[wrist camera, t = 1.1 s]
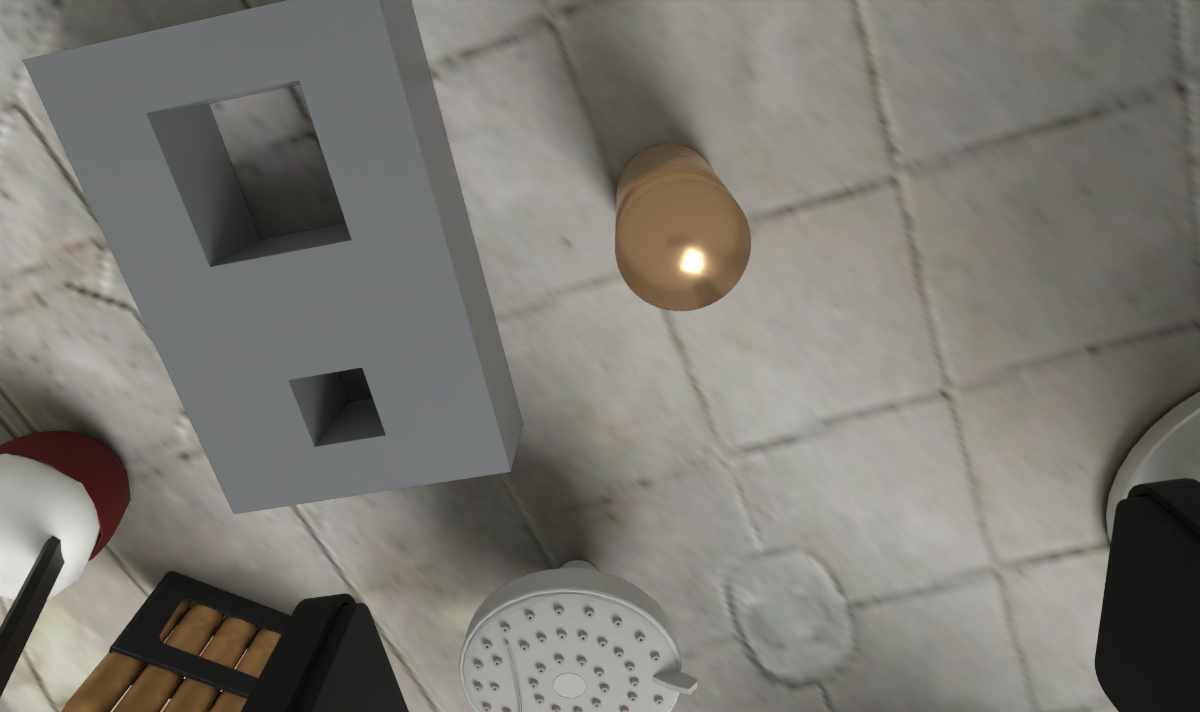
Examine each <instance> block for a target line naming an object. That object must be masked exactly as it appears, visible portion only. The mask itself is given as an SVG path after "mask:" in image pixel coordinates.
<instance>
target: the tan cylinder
mask: <svg viewBox="0 0 1200 712" xmlns="http://www.w3.org/2000/svg"><path fill="white" fill-rule="evenodd" d="M750 248H751V235H750V230H749V225H748V222H747V219H746V217H745V215H744V213H743V211H742V209H741V208H740V206H739V205H738V203H737V202H736V201H735V199H734V198H733V197H732V195H731V194H730V192H729V191H728V190H727V188H726V187H725V186H724V184H723V183H722V181H721V180H720V179H719V177H718V176H717V175H716V173H715V172H714V170H713V169H712V168H711V166H710V165H709V164H708V162H707V161H706V160H705V159H704V158H703V157H702V156H701V155H700V154H699V153H698V152H696V151H694V150H693V149H691V148H689V147H686V146H683V145H680V144H674V143H664V144H658V145H654V146H651V147H648V148H646V149H644V150H642V151H641V152H639V153H638V154H637V155H635V156H634V157H633V158H632V159H631V160H630V161H629V162H628V164H627V165H626V166H625V168H624V170H623V171H622V174H621V176H620V178H619V182H618V186H617V197H616V235H615V253H616V260H617V264H618V268H619V270H620V273H621V275H622V277H623V279H624V280H625V282H626V284H627V285H628V286H629V287H630V289H631V290H632V291H633V292H634V293H635V294H636V295H637V296H639V297H640V298H641V299H643V300H644V301H646V302H648V303H649V304H651V305H654V306H656V307H658V308H662V309H666V310H672V311H689V310H695V309H699V308H703V307H705V306H708V305H710V304H712V303H714V302H716V301H718V300H719V299H721V298H722V297H724V296H725V295H726V294H727V293H728V292H729V291H730V290H731V289H732V288H733V287H734V286H735V285H736V284H737V282H738V281H739V279H740V278H741V276H742V274H743V272H744V271H745V268H746V266H747V263H748V260H749V255H750Z"/></svg>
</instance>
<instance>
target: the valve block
mask: <svg viewBox="0 0 1200 712" xmlns="http://www.w3.org/2000/svg"><path fill="white" fill-rule="evenodd" d="M23 62H24V64H25V66H26V68H27V70H28V73H29V75H30V77H31V79H32V81H33V83H34V85H35V88H36V90H37V92H38V94H39V96H40V98H41V101H42V103H43V105H44V107H45V109H46V111H47V113H48V116H49V118H50V120H51V122H52V124H53V126H54V129H55V131H56V133H57V135H58V137H59V139H60V141H61V144H62V146H63V148H64V150H65V152H66V154H67V157H68V159H69V161H70V163H71V165H72V167H73V169H74V172H75V174H76V176H77V178H78V180H79V182H80V184H81V187H82V189H83V191H84V193H85V195H86V197H87V200H88V202H89V204H90V206H91V208H92V210H93V212H94V215H95V217H96V219H97V221H98V223H99V225H100V228H101V230H102V232H103V234H104V236H105V238H106V240H107V243H108V245H109V247H110V249H111V251H112V253H113V255H114V258H115V260H116V262H117V264H118V266H119V268H120V271H121V273H122V275H123V277H124V279H125V281H126V283H127V286H128V288H129V290H130V292H131V294H132V296H133V299H134V301H135V303H136V305H137V307H138V309H139V311H140V314H141V316H142V318H143V320H144V322H145V324H146V327H147V329H148V331H149V333H150V335H151V337H152V339H153V342H154V344H155V346H156V348H157V350H158V352H159V354H160V357H161V359H162V361H163V363H164V365H165V367H166V370H167V372H168V374H169V376H170V378H171V380H172V382H173V385H174V387H175V389H176V391H177V393H178V395H179V398H180V400H181V402H182V404H183V406H184V408H185V410H186V413H187V415H188V417H189V419H190V421H191V423H192V426H193V428H194V430H195V432H196V434H197V436H198V438H199V441H200V443H201V445H202V447H203V449H204V451H205V453H206V456H207V458H208V460H209V462H210V464H211V466H212V469H213V471H214V473H215V475H216V477H217V479H218V481H219V484H220V486H221V488H222V490H223V492H224V494H225V497H226V499H227V501H228V503H229V505H230V507H231V509H232V512H233V514H238V513H245V512H251V511H258V510H264V509H271V508H277V507H284V506H291V505H297V504H304V503H310V502H317V501H323V500H330V499H336V498H343V497H349V496H356V495H362V494H369V493H375V492H382V491H388V490H395V489H402V488H408V487H415V486H421V485H428V484H434V483H441V482H447V481H454V480H460V479H467V478H473V477H480V476H486V475H493V474H499V473H506V472H511V469H512V465H513V461H514V458H515V454H516V450H517V446H518V442H519V438H520V434H521V430H522V426H523V422H522V418H521V415H520V411H519V407H518V403H517V399H516V396H515V392H514V388H513V384H512V381H511V377H510V373H509V369H508V365H507V362H506V358H505V354H504V350H503V347H502V343H501V339H500V335H499V331H498V328H497V324H496V320H495V316H494V313H493V309H492V305H491V301H490V297H489V294H488V290H487V286H486V282H485V279H484V275H483V271H482V267H481V263H480V260H479V256H478V252H477V248H476V245H475V241H474V237H473V233H472V229H471V226H470V222H469V218H468V214H467V211H466V207H465V203H464V199H463V195H462V192H461V188H460V184H459V180H458V177H457V173H456V169H455V165H454V161H453V158H452V154H451V150H450V146H449V143H448V139H447V135H446V131H445V127H444V124H443V120H442V116H441V112H440V109H439V105H438V101H437V97H436V93H435V90H434V86H433V82H432V78H431V75H430V71H429V67H428V63H427V59H426V56H425V52H424V48H423V44H422V41H421V37H420V33H419V29H418V25H417V22H416V18H415V14H414V10H413V7H412V3H411V0H286V1H282V2H277V3H273V4H268V5H264V6H259V7H255V8H251V9H246V10H242V11H237V12H233V13H228V14H224V15H220V16H215V17H211V18H206V19H202V20H197V21H193V22H189V23H184V24H180V25H175V26H171V27H166V28H162V29H158V30H153V31H149V32H144V33H140V34H135V35H131V36H127V37H122V38H118V39H113V40H109V41H104V42H100V43H96V44H91V45H87V46H82V47H78V48H73V49H69V50H65V51H60V52H56V53H51V54H47V55H42V56H38V57H34V58H29V59H25V60H23ZM298 84H300V86H301V89H302V92H303V95H304V98H305V101H306V104H307V107H308V110H309V113H310V116H311V119H312V122H313V125H314V128H315V131H316V134H317V137H318V140H319V143H320V146H321V149H322V152H323V155H324V158H325V161H326V164H327V167H328V170H329V173H330V176H331V179H332V182H333V185H334V188H335V191H336V194H337V197H338V200H339V203H340V206H341V209H342V212H343V215H344V218H345V221H346V223H344V224H339V225H334V226H329V227H323V228H318V229H313V230H308V231H303V232H297V233H292V234H287V235H282V236H277V237H271V238H266V239H261V240H260V238H259V235H258V232H257V230H256V227H255V224H254V222H253V219H252V217H251V214H250V211H249V209H248V206H247V203H246V201H245V198H244V196H243V193H242V190H241V188H240V185H239V182H238V180H237V177H236V175H235V172H234V169H233V167H232V164H231V161H230V159H229V156H228V154H227V151H226V148H225V146H224V143H223V140H222V138H221V135H220V133H219V130H218V127H217V125H216V122H215V119H214V117H213V114H212V112H211V109H210V106H209V103H214V102H219V101H223V100H228V99H233V98H237V97H242V96H247V95H251V94H256V93H261V92H265V91H270V90H275V89H280V88H284V87H289V86H294V85H298ZM356 368H363V371H364V374H365V377H366V380H367V383H368V386H369V388H370V391H371V394H372V397H373V398H368V399H362V400H356V401H350V402H349V401H348V398H347V396H346V393H345V390H344V387H343V385H342V382H341V379H340V376H339V374H338V372H339V371H345V370H350V369H356Z"/></svg>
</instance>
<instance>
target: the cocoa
mask: <svg viewBox="0 0 1200 712" xmlns="http://www.w3.org/2000/svg"><path fill="white" fill-rule="evenodd" d="M130 500H131V499H130V490H129V483H128V476H127V471H126V470H125V468H124V467H123V465H122V464H121V462H120V461H119V459H118V458H117V456H116V455H115V453H113V452H112V451H111V450H109V449H108V448H106V447H105V446H104V445H102V444H101V443H100V442H98V441H97V440H96V439H93V438H90V437H86V436H83V435H80V434H77V433H74V432H69V431H49V432H36V433H33V434H29V435H26V436H22V437H19V438H16V439H14V440H11V441H8V442H6V443H4V444H2V445H0V596H1V597H5V598H9V599H13V600H14V602H13V604H12V606H11V608H10V610H9V612H8V614H7V616H6V617H5V619H4V621H3V623H2V625H1V627H0V697H1V695H2V693H3V691H4V689H5V687H6V684H7V682H8V680H9V678H10V676H11V674H12V672H13V670H14V668H15V666H16V663H17V661H18V659H19V657H20V655H21V653H22V651H23V649H24V647H25V645H26V643H27V640H28V638H29V636H30V634H31V632H32V630H33V628H34V626H35V624H36V622H37V619H38V617H39V615H40V613H41V611H42V609H43V607H44V605H45V603H46V601H47V600H50V599H51V598H52V597H54V596H55V595H57V594H58V593H59V592H61V591H62V590H64V589H65V588H66V587H68V586H69V585H71V584H72V583H73V582H75V581H76V580H78V579H79V578H80V577H81V575H82V573H83V570H84V568H85V566H86V564H87V562H88V561H89V560H91V559H93V558H94V557H95V556H96V555H97V554H98V553H99V552H100V551H101V550H102V549H103V547H104V546H105V545H106V544H107V543H108V542H109V540H110V538H111V537H112V535H113V534H114V532H115V530H116V529H117V527H118V525H119V523H120V521H121V519H122V517H123V514H124V512H125V510H126V508H127V506H128V504H129V502H130Z"/></svg>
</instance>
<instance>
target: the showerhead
mask: <svg viewBox="0 0 1200 712" xmlns="http://www.w3.org/2000/svg"><path fill="white" fill-rule="evenodd" d="M459 673H460V680H461V684H462V687H463V690H464V693H465V695H466V697H467V699H468V701H469V702H470V704H471V706H472V707H473V708H474V710H475V711H476V712H670V711H671V710H672V708H673V706H674V704H675V703H676V700H677V698H678V695H679V692H680V693H683V694H688V695H689V694H691V693H692V692H693V691H694V690H695V689H696V688H697V687H698V684H697V679H695V678H694V677H691V676H689V675H687V674H685V673H683V672H682V666H681V658H680V651H679V644H678V639H677V636H676V633H675V630H674V627H673V625H672V623H671V621H670V619H669V617H668V616H667V614H666V613H665V612H664V610H663V609H662V608H661V607H660V606H659V604H658V603H657V602H656V601H654V600H653V599H652V598H651V597H650V596H649V595H648V594H646V593H645V592H644V591H642V590H641V589H639V588H638V587H636V586H634V585H633V584H631V583H629V582H627V581H625V580H622V579H620V578H617V577H615V576H612V575H608V574H605V573H602V572H598V570H597V569H596V568H595V567H594V566H593V565H592V564H590V563H588V562H585V561H581V560H574V561H569V562H567V563H565V564H563V565H562V566H561V567H560V568H559V569H551V570H544V571H539V572H535V573H532V574H528V575H525V576H522V577H520V578H517V579H515V580H513V581H511V582H509V583H507V584H505V585H504V586H502V587H500V588H499V589H498V590H496V591H495V592H493V593H492V594H491V595H490V596H489V597H488V598H487V599H486V600H485V601H484V602H483V603H482V604H481V605H480V607H479V608H478V610H477V611H476V612H475V614H474V616H473V618H472V620H471V623H470V625H469V627H468V631H467V634H466V637H465V640H464V643H463V647H462V650H461V654H460V661H459Z"/></svg>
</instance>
